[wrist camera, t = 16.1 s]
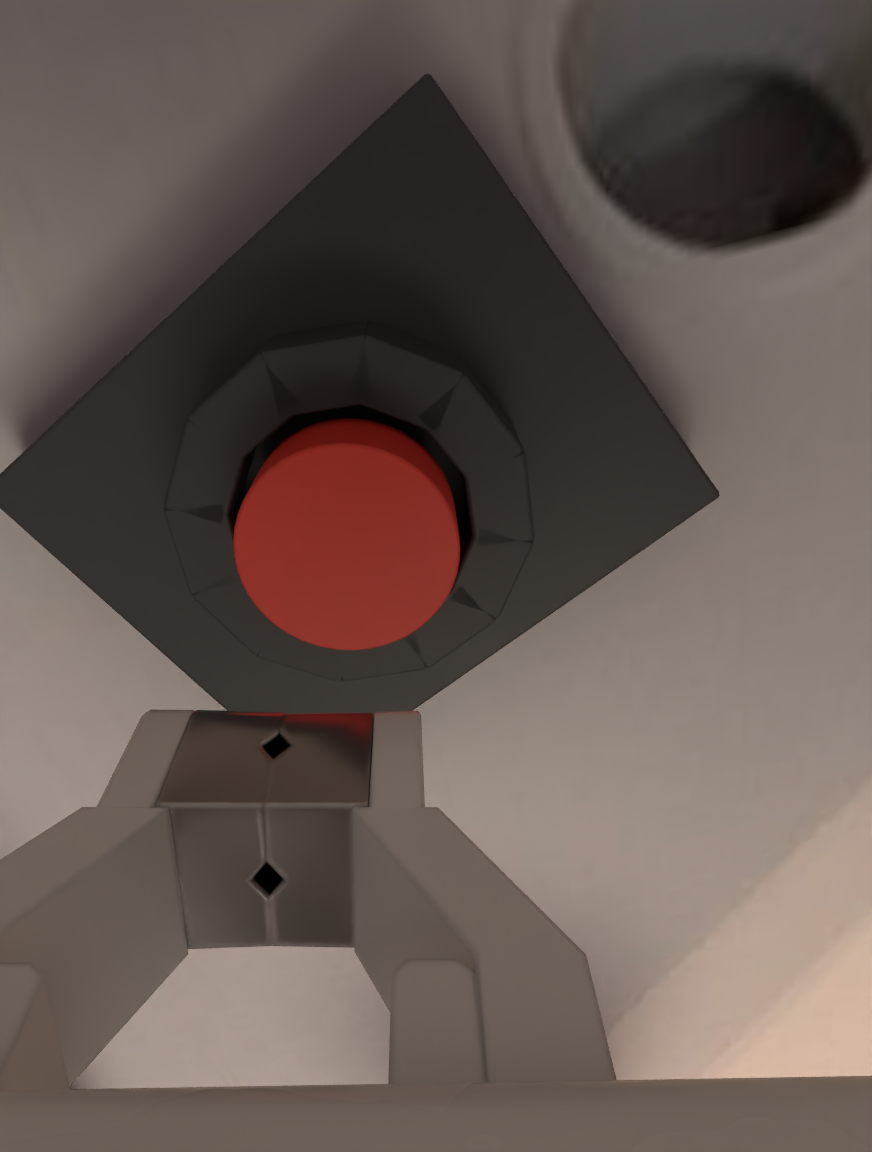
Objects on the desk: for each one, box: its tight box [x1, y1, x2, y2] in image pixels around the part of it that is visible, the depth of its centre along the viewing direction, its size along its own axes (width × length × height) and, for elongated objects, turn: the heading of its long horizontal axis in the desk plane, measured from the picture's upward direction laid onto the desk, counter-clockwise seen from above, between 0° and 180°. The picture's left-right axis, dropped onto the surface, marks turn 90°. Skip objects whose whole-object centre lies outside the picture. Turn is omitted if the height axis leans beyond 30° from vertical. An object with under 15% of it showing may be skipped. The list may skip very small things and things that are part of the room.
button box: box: [0, 74, 719, 714], centre depth 17 cm, size 12×10×4 cm
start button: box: [233, 418, 460, 650], centre depth 15 cm, size 4×4×2 cm
